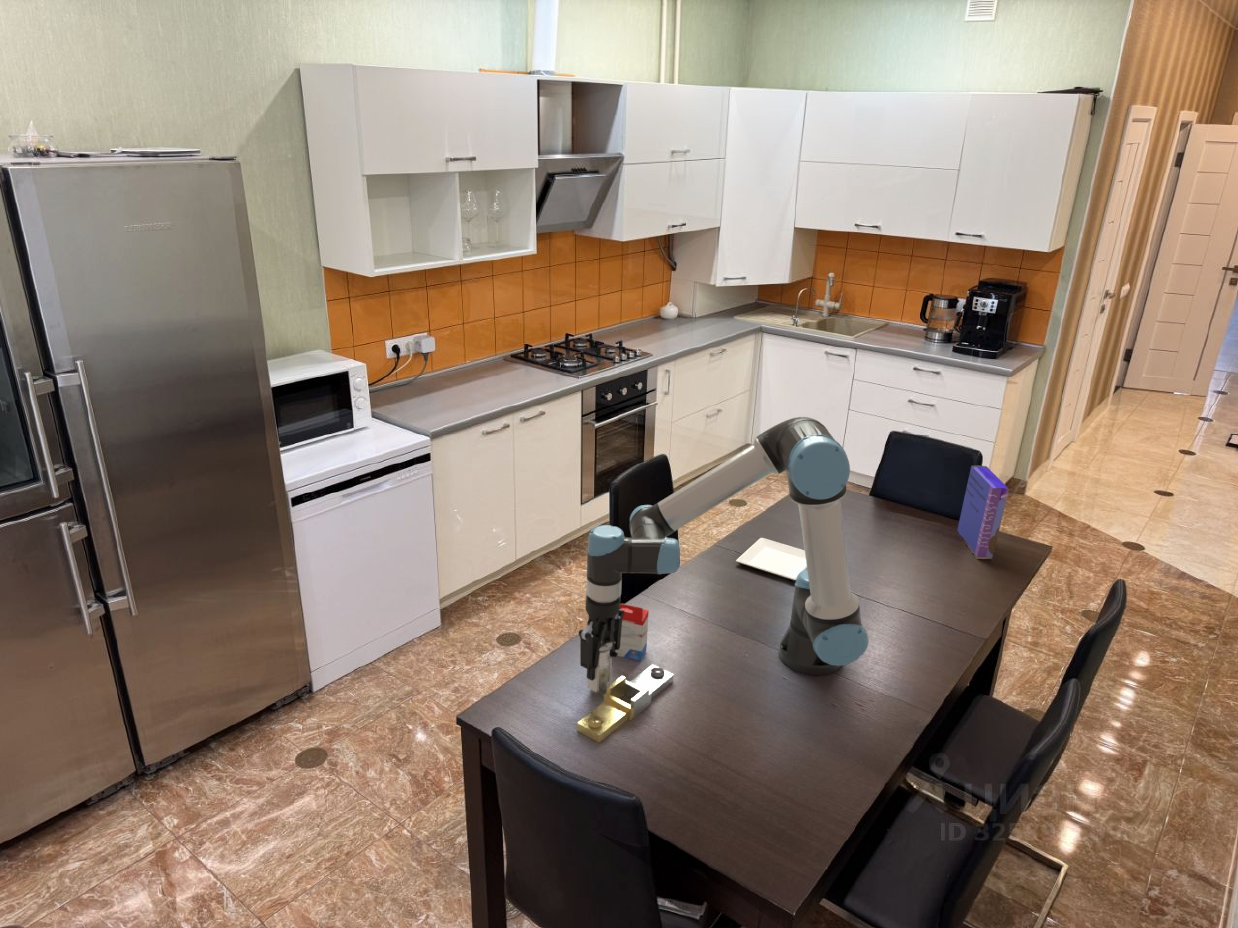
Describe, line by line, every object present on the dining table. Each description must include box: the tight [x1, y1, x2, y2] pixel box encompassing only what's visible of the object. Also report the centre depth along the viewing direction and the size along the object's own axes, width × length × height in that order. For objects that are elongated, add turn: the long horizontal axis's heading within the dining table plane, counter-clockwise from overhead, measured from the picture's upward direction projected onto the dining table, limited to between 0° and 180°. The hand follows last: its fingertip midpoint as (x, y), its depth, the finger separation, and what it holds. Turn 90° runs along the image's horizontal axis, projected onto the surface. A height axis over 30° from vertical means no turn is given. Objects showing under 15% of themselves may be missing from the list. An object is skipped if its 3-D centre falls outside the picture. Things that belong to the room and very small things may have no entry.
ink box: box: [614, 602, 649, 662], centre depth 207 cm, size 8×5×15 cm, turn 71°
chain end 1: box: [576, 675, 635, 744], centre depth 187 cm, size 8×16×4 cm, turn 143°
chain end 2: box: [624, 663, 675, 719], centre depth 195 cm, size 8×16×4 cm, turn 143°
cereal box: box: [956, 464, 1010, 558], centre depth 267 cm, size 17×5×24 cm, turn 179°
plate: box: [735, 537, 807, 582], centre depth 256 cm, size 19×19×2 cm
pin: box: [589, 638, 612, 697], centre depth 194 cm, size 5×5×13 cm
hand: (599, 684), depth 195 cm, fingers closed on pin, 4 cm apart
